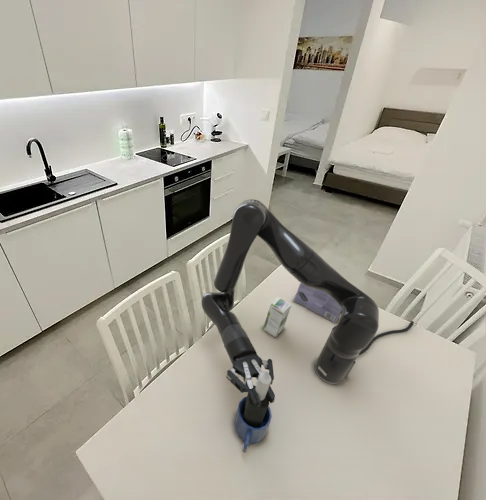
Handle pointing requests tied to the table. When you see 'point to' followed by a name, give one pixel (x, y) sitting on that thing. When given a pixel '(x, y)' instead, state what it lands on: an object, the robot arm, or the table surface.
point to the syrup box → (277, 316)
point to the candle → (252, 412)
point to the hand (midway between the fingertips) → (266, 403)
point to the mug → (248, 432)
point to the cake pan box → (318, 302)
